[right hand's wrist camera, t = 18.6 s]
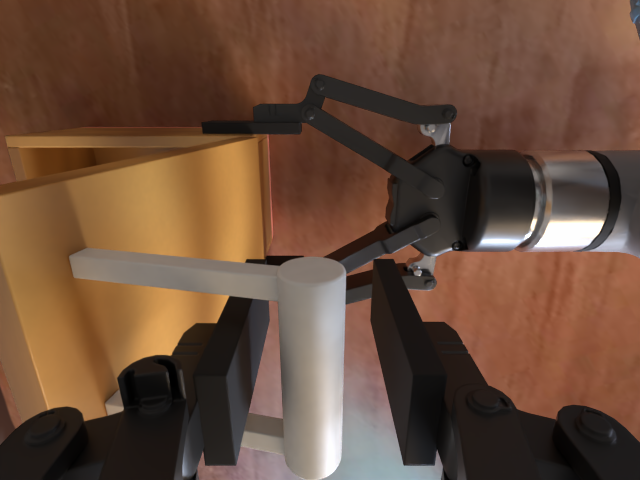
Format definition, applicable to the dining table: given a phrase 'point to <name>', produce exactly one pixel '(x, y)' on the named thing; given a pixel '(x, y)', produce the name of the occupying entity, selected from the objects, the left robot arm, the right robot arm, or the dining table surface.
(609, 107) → the dining table surface
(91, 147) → the chest
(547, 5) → the dining table surface
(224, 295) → the lid
